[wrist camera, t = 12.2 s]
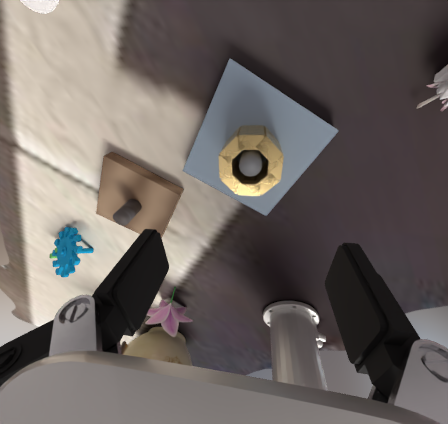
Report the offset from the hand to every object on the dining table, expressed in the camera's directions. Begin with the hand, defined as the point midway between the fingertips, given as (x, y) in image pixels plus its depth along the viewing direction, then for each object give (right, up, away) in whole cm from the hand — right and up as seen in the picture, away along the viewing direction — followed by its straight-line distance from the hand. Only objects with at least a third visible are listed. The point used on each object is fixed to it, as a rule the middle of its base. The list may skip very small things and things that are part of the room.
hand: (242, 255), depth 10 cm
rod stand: (-16, +5, +23) cm, 28 cm away
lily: (-14, -19, +39) cm, 46 cm away
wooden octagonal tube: (+2, +10, +14) cm, 17 cm away
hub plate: (+3, +11, +16) cm, 19 cm away
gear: (-33, -4, +32) cm, 46 cm away
